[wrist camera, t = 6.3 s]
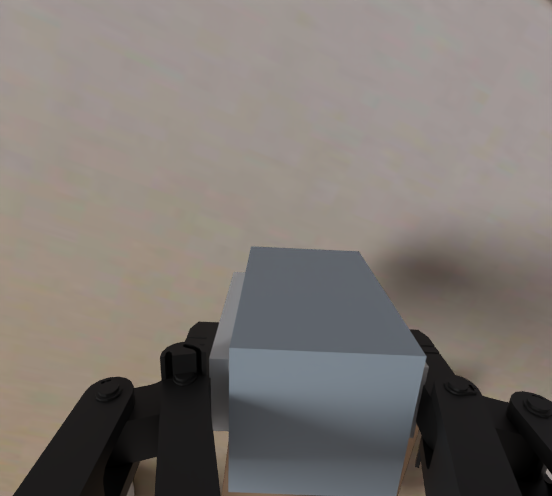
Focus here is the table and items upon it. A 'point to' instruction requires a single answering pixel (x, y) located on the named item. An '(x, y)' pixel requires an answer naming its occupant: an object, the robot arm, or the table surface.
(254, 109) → the table surface
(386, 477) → the block
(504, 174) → the table surface
